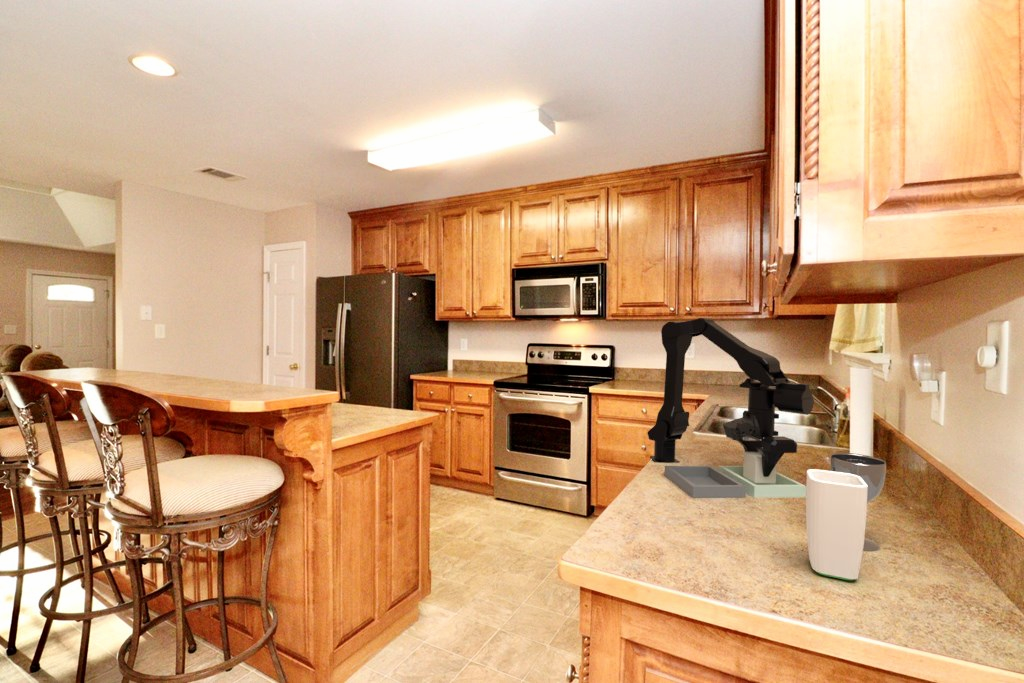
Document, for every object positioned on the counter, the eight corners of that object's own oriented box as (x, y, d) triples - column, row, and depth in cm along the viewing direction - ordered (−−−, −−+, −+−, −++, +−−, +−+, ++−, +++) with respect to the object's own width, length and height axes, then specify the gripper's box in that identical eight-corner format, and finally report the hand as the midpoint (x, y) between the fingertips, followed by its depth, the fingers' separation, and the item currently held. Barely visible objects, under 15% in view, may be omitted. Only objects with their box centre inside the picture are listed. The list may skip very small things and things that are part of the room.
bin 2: (717, 477, 121) (718, 465, 121) (762, 477, 122) (763, 465, 122) (754, 499, 105) (754, 486, 105) (805, 499, 106) (806, 486, 106)
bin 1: (664, 477, 120) (664, 465, 120) (710, 477, 121) (710, 465, 121) (692, 500, 104) (693, 486, 104) (745, 499, 105) (745, 486, 105)
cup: (802, 556, 79) (805, 467, 78) (855, 566, 76) (859, 474, 75) (808, 576, 72) (811, 480, 72) (866, 589, 69) (870, 487, 69)
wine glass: (877, 556, 79) (880, 467, 79) (822, 540, 85) (825, 457, 85) (887, 543, 84) (890, 459, 84) (834, 528, 90) (837, 450, 90)
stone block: (743, 476, 116) (743, 451, 116) (762, 476, 116) (763, 451, 116) (755, 482, 111) (755, 457, 111) (775, 482, 111) (776, 457, 111)
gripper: (709, 401, 122) (707, 462, 122) (751, 415, 103) (749, 486, 104) (751, 402, 123) (749, 462, 123) (800, 415, 104) (797, 486, 105)
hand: (759, 473), depth 114 cm, fingers closed on stone block, 5 cm apart
